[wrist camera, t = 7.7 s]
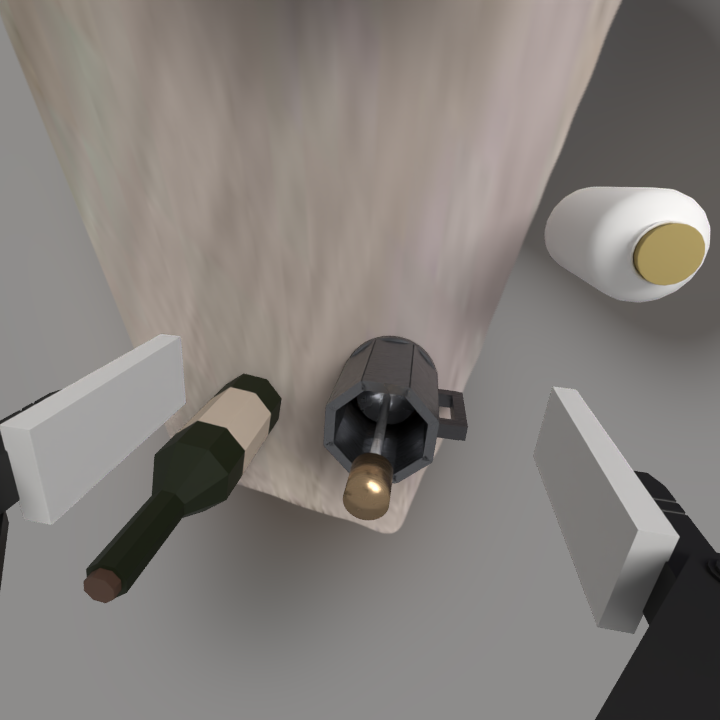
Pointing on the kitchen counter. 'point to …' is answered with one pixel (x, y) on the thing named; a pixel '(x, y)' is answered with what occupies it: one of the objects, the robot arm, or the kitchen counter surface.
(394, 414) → the plunger
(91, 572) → the wine bottle
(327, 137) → the kitchen counter surface
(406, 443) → the dark grey mug
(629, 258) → the white rounded cylinder
